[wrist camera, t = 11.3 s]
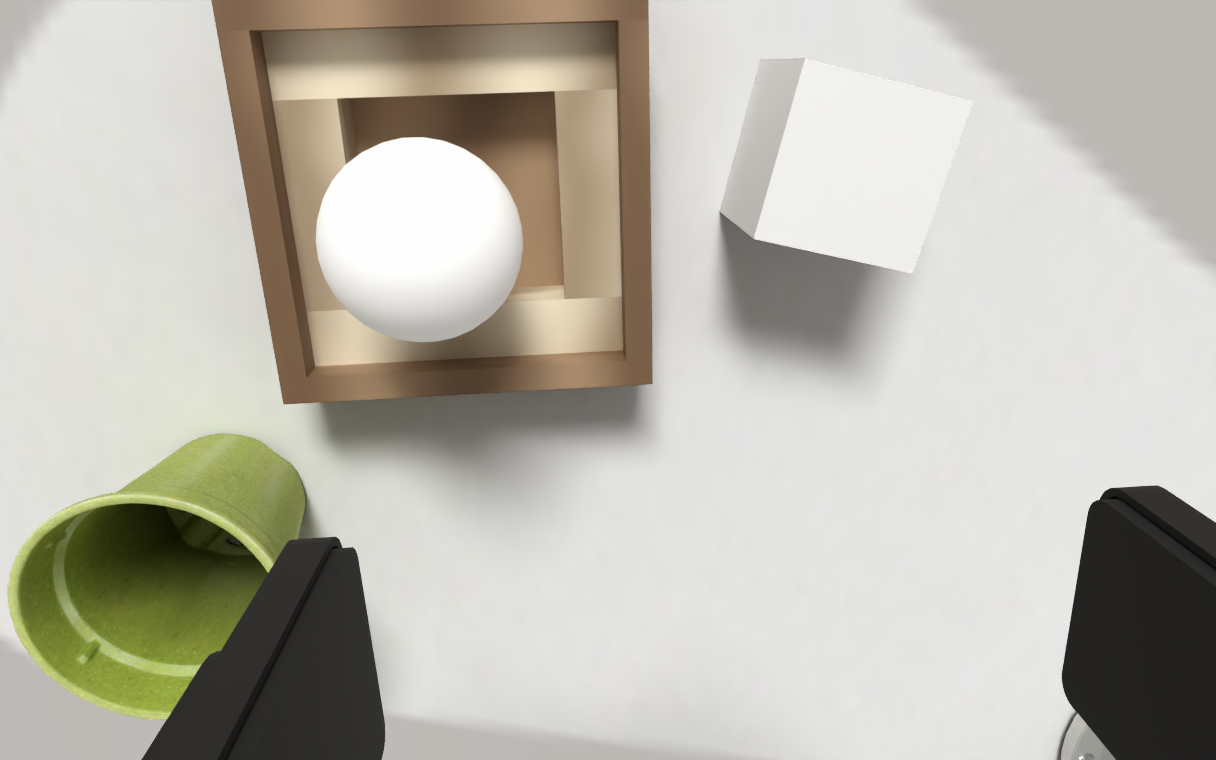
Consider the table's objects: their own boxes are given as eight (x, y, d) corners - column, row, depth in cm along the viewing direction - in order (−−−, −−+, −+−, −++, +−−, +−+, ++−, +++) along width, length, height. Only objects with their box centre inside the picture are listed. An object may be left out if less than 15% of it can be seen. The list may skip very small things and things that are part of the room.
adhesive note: (854, 241, 35) (913, 274, 30) (718, 211, 35) (753, 240, 29) (902, 94, 34) (974, 100, 28) (759, 58, 33) (805, 57, 27)
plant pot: (359, 576, 39) (313, 710, 31) (152, 593, 39) (49, 734, 31) (326, 390, 36) (265, 485, 28) (99, 405, 35) (-32, 507, 27)
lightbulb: (507, 292, 34) (492, 392, 24) (356, 254, 33) (274, 341, 23) (544, 144, 32) (544, 184, 22) (385, 98, 31) (309, 119, 21)
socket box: (635, -5, 31) (647, -14, 28) (640, 351, 36) (652, 384, 33) (251, 5, 31) (210, -3, 27) (310, 368, 35) (283, 404, 32)
